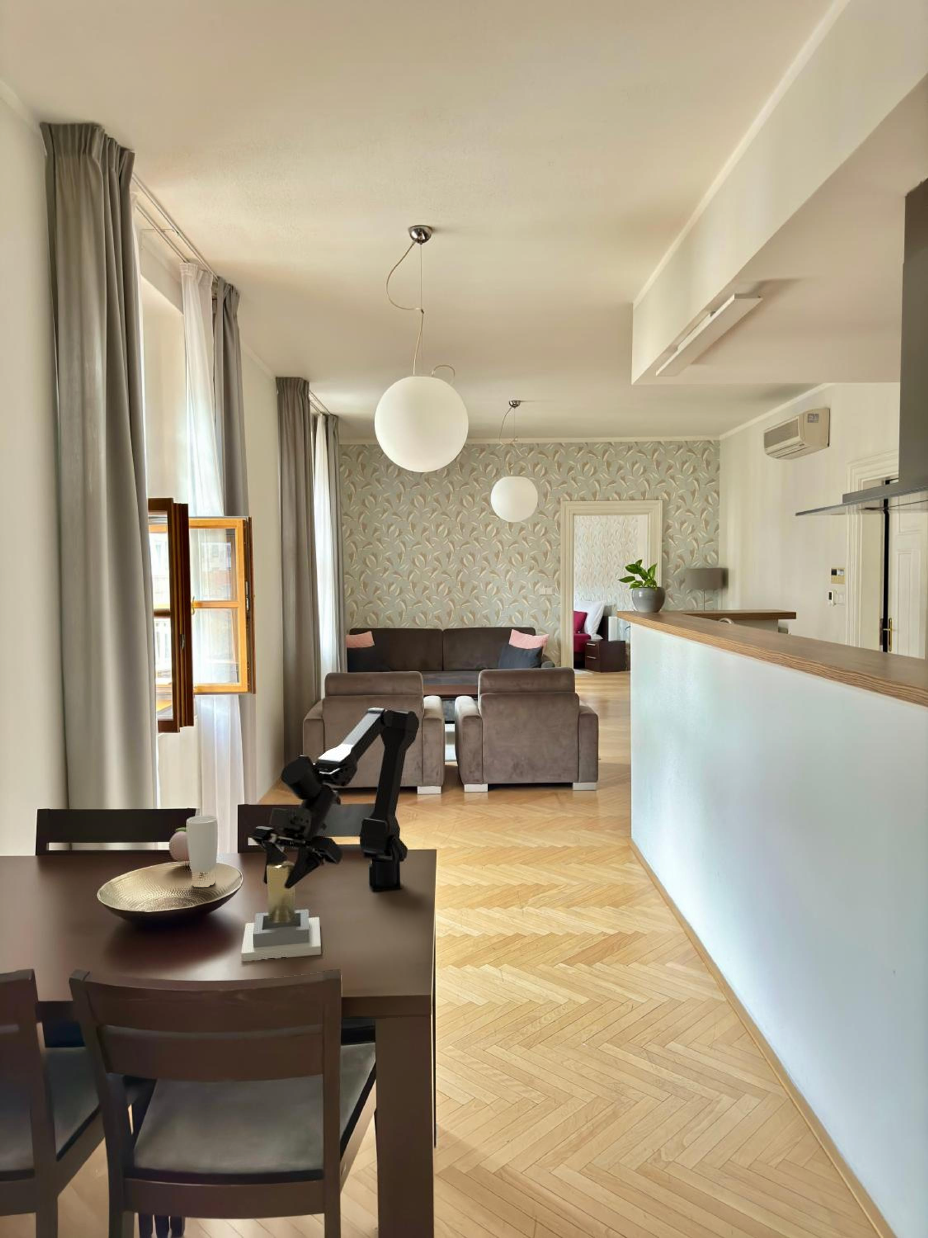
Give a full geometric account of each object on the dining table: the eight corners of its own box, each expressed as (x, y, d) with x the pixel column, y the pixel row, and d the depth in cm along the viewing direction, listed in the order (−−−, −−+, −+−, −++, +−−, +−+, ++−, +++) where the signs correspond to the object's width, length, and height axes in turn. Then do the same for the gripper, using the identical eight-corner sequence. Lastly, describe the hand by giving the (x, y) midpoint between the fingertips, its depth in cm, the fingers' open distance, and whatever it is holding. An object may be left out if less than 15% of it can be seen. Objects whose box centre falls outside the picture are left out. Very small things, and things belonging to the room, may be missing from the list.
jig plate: (319, 924, 170) (318, 904, 170) (320, 954, 157) (320, 932, 156) (246, 931, 168) (245, 910, 168) (241, 961, 154) (240, 939, 154)
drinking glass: (200, 892, 189) (198, 824, 189) (181, 886, 194) (179, 820, 193) (225, 883, 195) (223, 817, 194) (207, 877, 199) (205, 813, 198)
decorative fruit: (161, 870, 205) (159, 828, 204) (183, 859, 212) (182, 819, 212) (193, 874, 202) (192, 832, 201) (215, 863, 209) (214, 822, 209)
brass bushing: (288, 910, 166) (287, 859, 165) (299, 919, 162) (298, 866, 161) (264, 917, 163) (262, 864, 162) (274, 925, 159) (273, 871, 158)
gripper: (255, 785, 169) (215, 857, 160) (331, 795, 160) (293, 872, 151) (284, 815, 176) (247, 885, 167) (358, 826, 167) (323, 901, 158)
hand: (276, 885), depth 161 cm, fingers closed on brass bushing, 5 cm apart
